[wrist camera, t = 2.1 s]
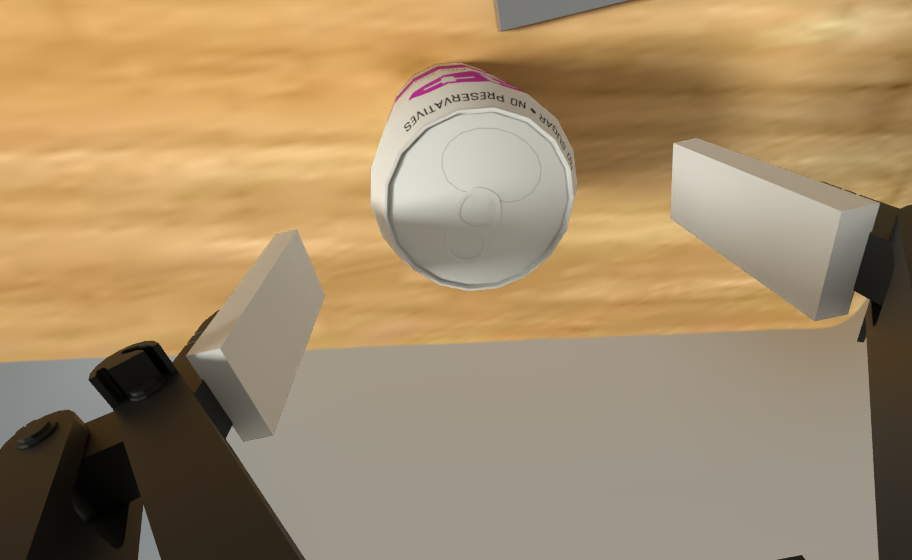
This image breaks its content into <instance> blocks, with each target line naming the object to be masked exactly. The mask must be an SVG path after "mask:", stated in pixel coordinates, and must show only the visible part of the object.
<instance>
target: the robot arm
mask: <svg viewBox="0 0 912 560" xmlns="http://www.w3.org/2000/svg"><path fill="white" fill-rule="evenodd" d="M671 219H672V220H673V221H675V222H676V223H678V224H679V225H680V226H682V227H683V228H685V229H686V230H687V231H689V232H690V233H692V234H693V235H694V236H696V237H697V238H699V239H700V240H701V241H703V242H704V243H706V244H707V245H709V246H710V247H711V248H713V249H714V250H716V251H717V252H718V253H720V254H721V255H723V256H724V257H725V258H727V259H728V260H730V261H731V262H732V263H734V264H735V265H737V266H738V267H739V268H741V269H742V270H744V271H745V272H746V273H748V274H749V275H751V276H752V277H753V278H755V279H756V280H758V281H759V282H760V283H762V284H763V285H765V286H766V287H767V288H769V289H770V290H772V291H773V292H774V293H776V294H777V295H779V296H780V297H781V298H783V299H784V300H786V301H787V302H788V303H790V304H791V305H793V306H794V307H795V308H797V309H798V310H800V311H801V312H802V313H804V314H805V315H807V316H808V317H810V318H811V319H812V320H814V321H818V320H823V319H827V318H832V317H837V316H842V315H846V314H848V312H849V309H850V305H851V302H852V298H853V295H854V291H856V292H858V293H859V294H861V295H863V296H865V297H866V298H868V299H870V302H869V305H868V308H867V311H866V314H865V318H864V321H863V324H862V327H861V330H860V334H859V337H858V340H857V341H858V342H864V340H865V339H866V337H867V353H868V371H869V387H870V388H869V389H870V406H871V426H872V442H873V462H874V480H875V498H876V515H877V534H878V552H879V560H912V205H908V206H905V207H903V208H901V209H899V208H896V207H893V206H890V205H887V204H885V203H882V202H879V201H876V200H873V199H870V198H868V197H865V196H862V195H856V193H853V192H851V191H848V190H842V188H839V187H836V186H834V185H831V184H828V183H825V182H820V181H817V180H814V179H811V178H808V177H805V176H803V175H800V174H797V173H794V172H791V171H788V170H786V169H783V168H780V167H777V166H774V165H772V164H769V163H766V162H763V161H760V160H757V159H755V158H752V157H749V156H746V155H743V154H741V153H738V152H735V151H732V150H729V149H726V148H724V147H721V146H718V145H715V144H712V143H710V142H707V141H704V140H701V139H698V138H693V139H689V140H684V141H680V142H675V143H673V166H672V192H671ZM324 297H325V294H324V292H323V289H322V287H321V285H320V282H319V280H318V278H317V275H316V273H315V271H314V268H313V266H312V264H311V261H310V259H309V256H308V254H307V252H306V249H305V247H304V245H303V242H302V240H301V238H300V235H299V233H298V231H297V230H292V231H288V232H284V233H279V234H276V235H275V236H274V237H273V239H272V240H271V241H270V243H269V244H268V245H267V247H266V248H265V250H264V251H263V252H262V254H261V255H260V256H259V258H258V259H257V260H256V262H255V263H254V264H253V266H252V267H251V268H250V270H249V271H248V272H247V274H246V275H245V277H244V278H243V279H242V281H241V282H240V283H239V285H238V286H237V287H236V289H235V290H234V291H233V293H232V294H231V295H230V297H229V298H228V300H227V301H226V302H225V304H224V305H223V306H222V308H221V309H220V310H218V311H217V312H215V313H214V314H213V315H212V316H210V317H209V318H208V319H207V320H205V321H204V322H203V323H202V325H201V326H200V327H199V328H198V330H197V331H196V332H195V336H192V338H191V339H190V340H189V342H188V343H187V344H188V345H186V346H185V347H184V348H183V349H182V351H181V352H180V353H179V355H178V356H177V357H176V358H175V360H174V361H173V362H171V360H170V359H169V357H168V356H167V355H166V353H165V352H164V350H163V349H162V347H161V346H160V345H159V343H157V342H155V341H144V342H140V343H137V344H133V345H131V346H128V347H126V348H124V349H122V350H119V351H118V352H116V353H114V354H113V355H111V356H109V357H107V358H106V359H105V360H104V361H102V362H101V363H100V364H98V365H97V366H96V367H95V369H94V370H93V371H92V372H91V373H90V376H89V381H90V382H91V383H92V385H93V386H94V387H95V388H96V389H97V390H98V392H99V393H100V394H101V395H102V396H103V397H104V399H105V400H106V401H107V402H108V404H109V405H110V406H111V407H112V408H113V410H114V412H111V413H109V414H107V415H104V416H102V417H99V418H97V419H94V420H92V421H89V422H87V423H84V422H83V421H82V420H81V419H80V418H79V417H78V416H77V415H76V414H75V413H74V412H72V411H70V410H63V411H57V412H54V413H52V414H49V415H46V416H44V417H42V418H40V419H38V420H34V421H32V422H30V423H28V424H27V425H26V427H22V428H21V429H20V430H18V431H17V432H16V433H15V435H14V436H13V437H11V438H10V439H9V440H8V441H7V442H6V443H5V444H4V445H3V447H2V448H1V449H0V560H138V552H139V541H140V532H141V521H142V512H143V504H144V507H145V510H146V514H147V517H148V520H149V523H150V526H151V529H152V532H153V536H154V539H155V542H156V545H157V548H158V551H159V554H160V557H161V560H305V558H304V557H303V555H302V554H301V552H300V551H299V549H298V548H297V546H296V544H295V543H294V542H293V540H292V538H291V537H290V535H289V534H288V532H287V531H286V529H285V528H284V526H283V525H282V523H281V522H280V520H279V519H278V517H277V516H276V514H275V513H274V511H273V510H272V508H271V507H270V505H269V504H268V502H267V501H266V499H265V498H264V496H263V494H262V493H261V491H260V490H259V488H258V487H257V485H256V484H255V482H254V481H253V479H252V478H251V477H250V475H249V473H248V472H247V470H246V469H245V467H244V466H243V464H242V463H241V461H240V460H239V458H238V457H237V455H236V454H235V452H234V451H233V449H232V448H231V446H230V445H229V444H228V442H227V441H226V437H227V435H228V433H229V430H230V429H231V426H233V427H234V429H235V430H236V432H237V433H238V435H239V436H240V438H241V439H242V440H243V442H245V441H249V440H254V439H259V438H264V437H268V436H272V435H274V432H275V430H276V427H277V424H278V421H279V419H280V416H281V413H282V411H283V408H284V405H285V403H286V400H287V397H288V394H289V392H290V389H291V386H292V384H293V381H294V378H295V375H296V373H297V370H298V367H299V365H300V362H301V359H302V356H303V354H304V351H305V349H306V346H307V343H308V340H309V338H310V335H311V332H312V330H313V327H314V324H315V322H316V319H317V316H318V313H319V311H320V308H321V305H322V303H323V300H324ZM779 560H805V559H804V557H803V556H802V555H800V556H795V557H789V558H785V559H779Z"/></svg>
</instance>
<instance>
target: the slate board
mask: <svg viewBox="0 0 912 560" xmlns="http://www.w3.org/2000/svg"><path fill="white" fill-rule="evenodd" d="M623 1H628V0H494V7H495V14H496V21H497V28H498V31H504V30H509V29H513V28H517V27H521V26H525V25H529V24H533V23H537V22H541V21H545V20H550V19H554V18H558V17H562V16H566V15H570V14H574V13H578V12H582V11H587V10H591V9H595V8H599V7H603V6H607V5H611V4H615V3H619V2H623Z"/></svg>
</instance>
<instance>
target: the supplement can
mask: <svg viewBox="0 0 912 560" xmlns="http://www.w3.org/2000/svg"><path fill="white" fill-rule="evenodd" d="M576 190H577V178H576V168H575V159H574V151H573V149H572V147H571V145H570V143H569V141H568V139H567V137H566V135H565V133H564V131H563V129H562V127H561V126H560V124H559V122H558V120H557V118H556V117H554V116H553V115H552V114H551V113H550V112H549V111H547V110H546V109H545V108H544V107H543V106H541V105H540V104H539V103H538V102H537V101H536V100H534V99H533V98H532V97H531V96H530V95H528V94H527V93H525V92H523V91H521V90H519V89H517V88H516V87H514V86H512V85H510V84H508V83H506V82H504V81H502V80H500V79H499V78H497V77H495V76H493V75H491V74H489V73H487V72H485V71H483V70H482V69H479V68H476V67H472V66H469V65H466V64H463V63H460V62H454V63H441V64H434V65H432V66H430V67H428V68H426V69H424V70H422V71H420V72H418V73H416V74H414V75H413V76H412V77H411V79H410V80H409V81H408V82H407V83H406V84H405V85H404V86H403V87H402V89H401V90H400V91H399V92H398V94H397V96H396V99H395V101H394V104H393V106H392V109H391V111H390V114H389V117H388V120H387V123H386V126H385V129H384V132H383V135H382V138H381V141H380V144H379V147H378V150H377V153H376V156H375V159H374V162H373V165H372V168H371V207H372V210H373V213H374V215H375V218H376V221H377V224H378V226H379V229H380V232H381V235H382V237H383V238H384V240H385V241H386V242H387V243H388V244H389V245H390V247H391V248H392V249H393V250H394V251H395V253H396V254H397V255H398V256H399V257H400V259H401V260H402V261H403V262H404V263H406V264H407V265H409V266H411V267H412V268H413V269H414V270H415V271H417V272H418V273H420V274H422V275H424V276H425V277H427V278H429V279H430V280H432V281H434V282H435V283H437V284H439V285H443V286H448V287H452V288H457V289H462V290H467V291H472V290H482V289H492V288H499V287H501V286H504V285H506V284H509V283H511V282H513V281H516V280H518V279H521V278H523V277H525V276H527V275H528V274H529V273H531V272H532V271H533V270H534V269H535V268H537V267H538V266H539V265H540V264H541V263H543V262H544V261H545V260H546V259H548V258H549V257H550V255H551V254H552V252H553V251H554V249H555V248H556V246H557V245H558V243H559V241H560V240H561V238H562V237H563V235H564V234H565V232H566V230H567V226H568V222H569V218H570V214H571V210H572V206H573V202H574V198H575V194H576Z"/></svg>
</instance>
